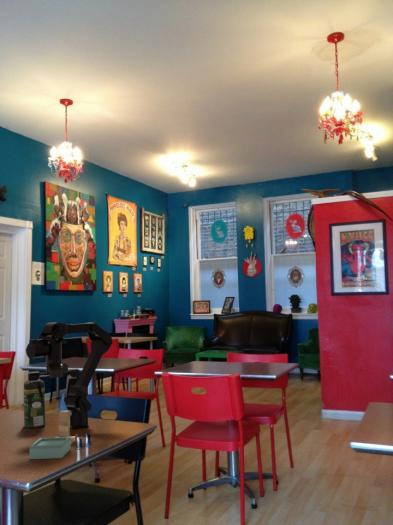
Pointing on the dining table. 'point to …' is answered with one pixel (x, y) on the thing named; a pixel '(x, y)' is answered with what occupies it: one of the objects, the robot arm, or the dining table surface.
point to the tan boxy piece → (65, 425)
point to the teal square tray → (50, 447)
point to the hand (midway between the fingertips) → (54, 397)
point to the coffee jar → (34, 405)
